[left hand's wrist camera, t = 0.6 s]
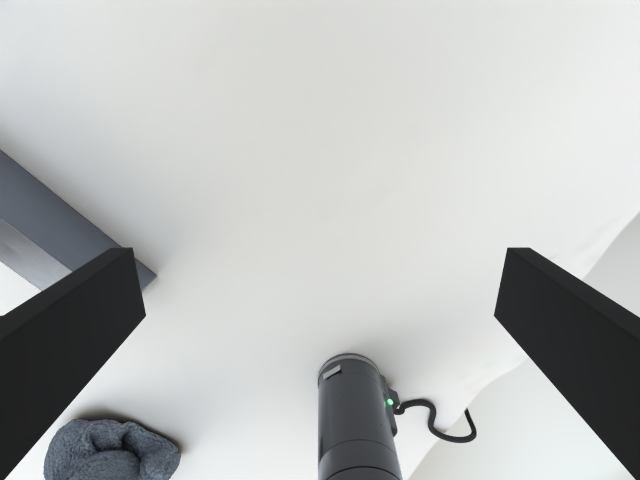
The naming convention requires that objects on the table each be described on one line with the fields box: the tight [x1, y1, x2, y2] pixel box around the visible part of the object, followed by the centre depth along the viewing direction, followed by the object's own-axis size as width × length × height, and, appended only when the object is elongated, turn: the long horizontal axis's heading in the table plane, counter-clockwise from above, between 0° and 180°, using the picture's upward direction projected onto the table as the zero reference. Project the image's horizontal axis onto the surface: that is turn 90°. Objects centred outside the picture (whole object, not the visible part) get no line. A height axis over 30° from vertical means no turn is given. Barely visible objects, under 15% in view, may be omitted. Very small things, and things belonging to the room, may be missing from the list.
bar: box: [0, 150, 157, 292], centre depth 40 cm, size 27×4×9 cm, turn 44°
